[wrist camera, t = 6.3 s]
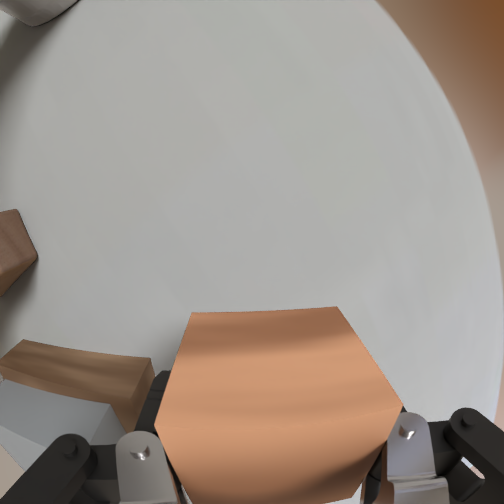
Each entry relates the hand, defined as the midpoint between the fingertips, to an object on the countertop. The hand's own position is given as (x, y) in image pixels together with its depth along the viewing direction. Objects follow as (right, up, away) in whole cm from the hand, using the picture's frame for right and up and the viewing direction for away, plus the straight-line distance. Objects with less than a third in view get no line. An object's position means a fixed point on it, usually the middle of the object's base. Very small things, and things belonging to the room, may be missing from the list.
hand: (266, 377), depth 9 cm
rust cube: (0, 0, 0) cm, 0 cm away
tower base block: (-15, -10, +11) cm, 21 cm away
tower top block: (-15, -11, +6) cm, 20 cm away
